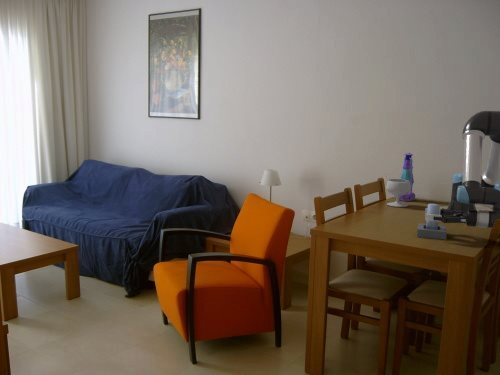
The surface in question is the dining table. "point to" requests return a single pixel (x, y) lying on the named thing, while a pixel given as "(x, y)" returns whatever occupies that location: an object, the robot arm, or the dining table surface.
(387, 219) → the dining table surface
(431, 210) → the peg
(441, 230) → the socket block
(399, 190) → the chalice
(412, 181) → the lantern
